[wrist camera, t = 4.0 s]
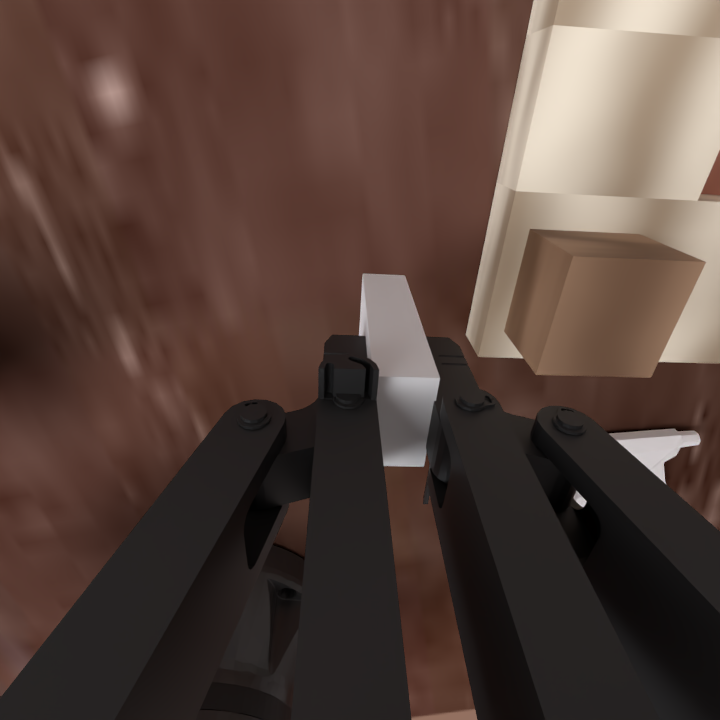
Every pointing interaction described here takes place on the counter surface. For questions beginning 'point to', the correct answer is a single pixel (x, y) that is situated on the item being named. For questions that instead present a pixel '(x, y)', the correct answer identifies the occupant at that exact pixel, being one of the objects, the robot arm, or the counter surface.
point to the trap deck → (611, 151)
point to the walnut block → (598, 302)
